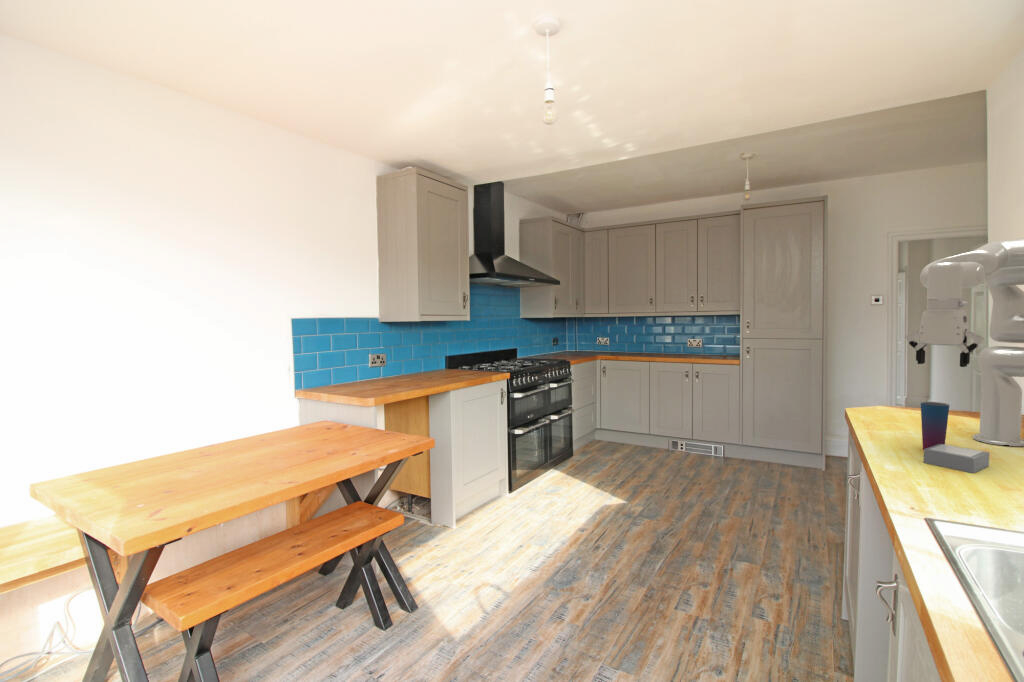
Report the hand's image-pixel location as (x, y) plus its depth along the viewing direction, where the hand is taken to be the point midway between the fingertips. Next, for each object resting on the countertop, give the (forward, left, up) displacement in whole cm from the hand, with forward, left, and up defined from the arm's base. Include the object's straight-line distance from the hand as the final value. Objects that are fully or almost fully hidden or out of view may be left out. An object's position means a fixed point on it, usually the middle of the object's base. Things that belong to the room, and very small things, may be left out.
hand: (941, 365), depth 141 cm
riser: (0, +4, -28) cm, 28 cm away
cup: (-11, -5, -28) cm, 31 cm away
